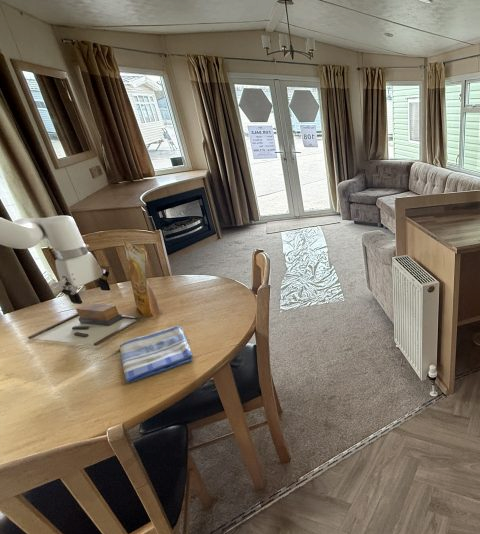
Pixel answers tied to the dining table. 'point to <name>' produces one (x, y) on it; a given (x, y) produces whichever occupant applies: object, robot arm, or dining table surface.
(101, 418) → the dining table surface
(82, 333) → the stroke
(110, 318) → the eraser
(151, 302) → the pancake mix bag
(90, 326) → the memo board
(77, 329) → the stroke
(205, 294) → the dining table surface
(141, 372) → the dish towel
